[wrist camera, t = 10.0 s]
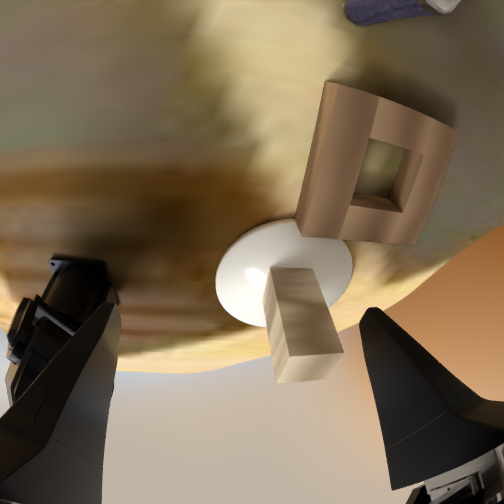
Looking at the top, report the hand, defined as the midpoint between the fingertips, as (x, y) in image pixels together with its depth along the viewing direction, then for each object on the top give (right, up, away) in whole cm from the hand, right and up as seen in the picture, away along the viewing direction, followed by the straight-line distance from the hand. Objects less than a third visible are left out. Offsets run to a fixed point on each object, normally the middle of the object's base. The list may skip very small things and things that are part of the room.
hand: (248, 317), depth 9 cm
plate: (+3, 0, +17) cm, 17 cm away
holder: (+10, +9, +11) cm, 17 cm away
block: (+3, -1, +17) cm, 17 cm away
